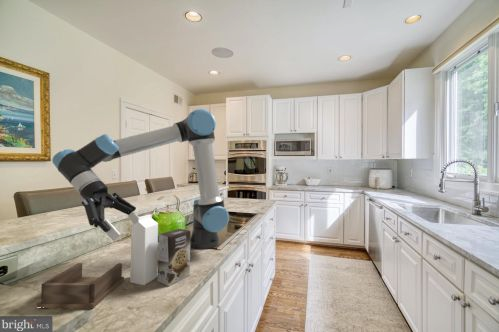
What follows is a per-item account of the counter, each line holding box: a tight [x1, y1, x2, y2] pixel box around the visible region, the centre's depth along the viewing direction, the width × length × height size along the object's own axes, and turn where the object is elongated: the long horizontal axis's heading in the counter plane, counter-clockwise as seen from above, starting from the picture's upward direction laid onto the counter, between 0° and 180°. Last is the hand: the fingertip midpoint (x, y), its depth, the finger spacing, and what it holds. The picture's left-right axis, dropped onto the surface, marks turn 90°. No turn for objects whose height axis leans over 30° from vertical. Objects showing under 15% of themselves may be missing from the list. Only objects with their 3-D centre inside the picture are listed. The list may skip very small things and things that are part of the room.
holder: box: [36, 262, 125, 310], centre depth 66 cm, size 15×15×6 cm
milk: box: [129, 213, 159, 286], centre depth 74 cm, size 6×6×22 cm
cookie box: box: [156, 228, 192, 287], centre depth 75 cm, size 9×6×16 cm
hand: (130, 231), depth 74 cm, fingers open, 13 cm apart
